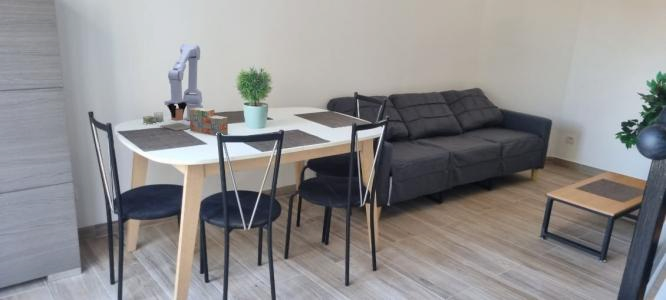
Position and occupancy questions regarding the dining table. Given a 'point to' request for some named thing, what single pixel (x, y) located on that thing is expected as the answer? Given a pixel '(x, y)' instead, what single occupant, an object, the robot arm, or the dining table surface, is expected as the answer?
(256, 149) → the dining table surface
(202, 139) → the dining table surface
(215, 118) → the stack of blocks
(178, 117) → the terracotta block
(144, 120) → the sage block
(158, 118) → the grey cylinder
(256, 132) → the dining table surface
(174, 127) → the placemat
